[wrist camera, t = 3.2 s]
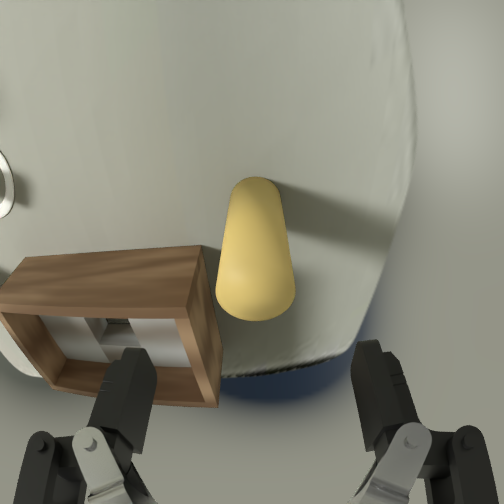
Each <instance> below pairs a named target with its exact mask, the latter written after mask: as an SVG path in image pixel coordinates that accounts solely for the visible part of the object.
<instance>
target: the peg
mask: <svg viewBox="0 0 504 504" xmlns="http://www.w3.org/2000/svg"><path fill="white" fill-rule="evenodd" d="M216 297H217V300H218V302H219V304H220V305H221V307H222V308H223V309H224V310H225V311H226V312H228V313H229V314H231V315H232V316H234V317H237V318H239V319H243V320H248V321H263V320H268V319H272V318H274V317H277V316H279V315H280V314H282V313H283V312H285V311H286V310H287V309H288V308H289V307H290V305H291V304H292V302H293V300H294V297H295V283H294V276H293V270H292V263H291V257H290V251H289V244H288V238H287V232H286V226H285V220H284V215H283V209H282V203H281V197H280V193H279V191H278V189H277V187H276V186H275V185H274V184H273V183H272V182H271V181H269V180H267V179H265V178H262V177H249V178H246V179H244V180H242V181H240V182H239V183H238V184H237V185H236V186H235V187H234V189H233V190H232V193H231V197H230V202H229V208H228V214H227V220H226V226H225V232H224V239H223V245H222V251H221V257H220V264H219V270H218V277H217V283H216Z"/></svg>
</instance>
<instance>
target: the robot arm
mask: <svg viewBox="0 0 504 504" xmlns="http://www.w3.org/2000/svg"><path fill="white" fill-rule="evenodd" d="M351 381H352V385H353V389H354V394H355V399H356V403H357V408H358V412H359V418H360V422H361V428H362V433H363V438H364V444H365V449H366V452H369V451H373V450H374V451H375V456H376V459H375V461H374V462H373V464H372V466H371V467H370V469H369V471H368V473H367V474H366V476H365V478H364V479H363V481H362V483H361V484H360V486H359V487H358V489H357V490H356V492H355V493H354V495H353V497H352V498H351V499H350V500H349V502H348V503H347V504H408V502H409V497H408V496H409V493H410V491H411V489H412V487H413V485H414V483H415V480H416V478H424V482H425V488H426V495H427V502H428V504H499V502H498V496H497V491H496V486H495V481H494V476H493V472H492V467H491V464H490V459H489V455H488V451H487V448H486V444H485V440H484V437H483V435H482V433H481V431H480V430H479V429H478V428H476V427H474V426H470V425H467V426H463V427H461V428H459V429H458V430H457V431H456V432H438V431H432V430H430V429H427V428H426V427H425V426H424V425H422V423H421V422H420V420H419V419H418V416H417V413H416V409H415V406H414V403H413V400H412V397H411V394H410V391H409V388H408V385H407V384H406V379H405V376H404V375H403V370H402V367H401V365H400V362H399V360H398V359H397V358H396V357H395V356H394V355H393V354H392V353H391V352H382V349H381V346H380V344H379V341H378V340H376V339H375V340H367V341H359V342H357V344H356V348H355V352H354V356H353V359H352V363H351ZM156 386H157V372H156V369H155V367H154V365H153V363H152V361H151V359H150V357H149V355H148V353H147V351H146V349H145V348H133V347H126V348H125V349H124V351H123V354H122V357H121V359H120V360H114V361H113V362H112V363H111V365H110V366H109V367H108V368H107V370H106V372H105V375H104V378H103V383H102V384H101V387H100V391H99V392H98V395H97V398H96V401H95V404H94V407H93V410H92V413H91V417H90V420H89V423H88V425H87V427H85V428H82V429H81V430H79V431H78V432H77V433H76V434H75V435H74V436H67V437H56V438H54V437H53V436H52V435H50V434H49V433H48V432H45V431H39V432H36V433H35V434H33V435H32V436H31V438H30V439H29V441H28V445H27V448H26V452H25V455H24V459H23V463H22V467H21V471H20V475H19V479H18V483H17V488H16V493H15V498H14V502H13V504H84V501H85V494H86V488H87V485H88V488H89V490H90V495H89V496H88V502H89V504H158V503H157V502H156V501H155V500H154V498H153V497H152V495H151V494H150V492H149V491H148V489H147V488H146V486H145V484H144V482H143V480H142V479H141V477H140V475H139V473H138V472H137V470H136V468H135V466H134V464H133V462H132V461H131V458H132V453H138V454H142V451H143V446H144V441H145V435H146V431H147V426H148V422H149V417H150V412H151V408H152V403H153V399H154V395H155V390H156Z"/></svg>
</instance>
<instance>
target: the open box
mask: <svg viewBox="0 0 504 504" xmlns="http://www.w3.org/2000/svg"><path fill="white" fill-rule="evenodd" d="M106 318H124V319H128V320H129V322H130V324H113V323H108V322H107V320H106ZM0 321H1V322H2V324H3V325H4V327H5V328H6V330H7V331H8V332H9V334H10V335H11V337H12V338H13V340H14V341H15V342H16V344H17V345H18V347H19V348H20V349H21V351H22V352H23V353H24V355H25V356H26V357H27V358H28V360H29V361H30V362H31V364H32V365H33V366H34V367H35V369H36V370H37V371H38V372H39V374H40V375H41V376H42V377H43V378H44V379H45V381H46V382H47V383H48V384H49V385H50V387H51V388H52V389H53V390H58V391H63V392H68V393H73V394H79V395H84V396H90V397H96V398H97V395H98V392H99V391H100V387H101V384H102V383H103V378H104V375H105V372H106V370H107V368H108V367H109V366H110V365H111V363H112V362H113V361H114V360H120V359H121V357H122V354H123V351H124V349H125V348H126V347H133V348H145V349H146V351H147V353H148V355H149V357H150V359H151V361H152V363H153V365H154V367H155V369H156V372H157V386H156V390H155V395H154V399H153V403H152V404H154V405H167V406H183V407H209V408H214V407H215V408H218V404H219V391H220V381H221V369H222V358H223V347H222V342H221V338H220V334H219V329H218V325H217V320H216V316H215V311H214V306H213V301H212V297H211V292H210V287H209V282H208V277H207V272H206V267H205V262H204V257H203V252H202V247H201V245H196V246H180V247H165V248H150V249H135V250H120V251H106V252H92V253H78V254H64V255H51V256H38V257H25V258H24V259H23V261H22V262H21V263H20V264H19V265H18V267H17V268H16V269H15V270H14V271H13V273H12V274H11V275H10V276H9V278H8V279H7V280H6V281H5V283H4V284H3V285H2V287H1V288H0Z"/></svg>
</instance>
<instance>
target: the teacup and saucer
mask: <svg viewBox="0 0 504 504" xmlns="http://www.w3.org/2000/svg"><path fill="white" fill-rule="evenodd" d="M0 168H1V170H2V172H3V175H4V179H5V184H6V193H5V197H4V200H3V202H2V203H1V204H0V218H2V217H4V216H5V215H7V214H8V212H9V211H10V209H11V207H12V204H13V200H14V183H13V178H12V174H11V171H10V168H9V165H8V163H7V161H6V160H5V158H4V156H3V155H2V154H1V152H0Z"/></svg>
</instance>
